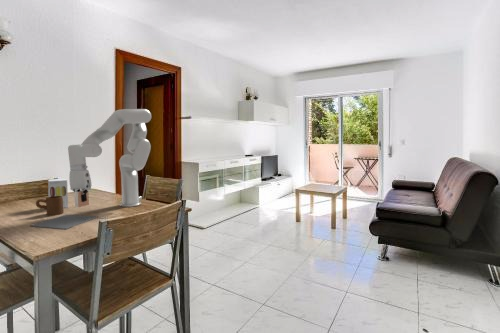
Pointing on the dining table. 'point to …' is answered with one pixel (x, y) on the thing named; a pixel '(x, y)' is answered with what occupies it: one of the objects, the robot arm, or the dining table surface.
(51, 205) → the mug
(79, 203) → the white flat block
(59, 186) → the supplement box
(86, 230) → the dining table surface
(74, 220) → the mat
